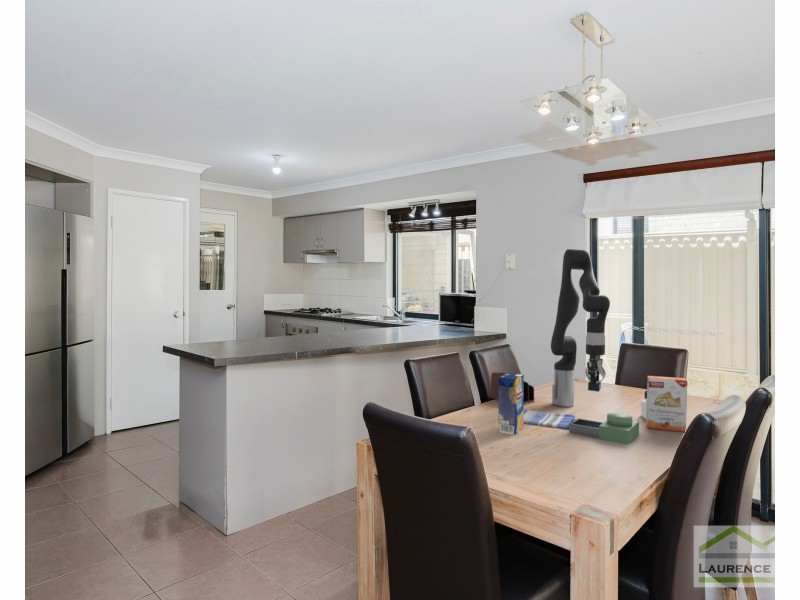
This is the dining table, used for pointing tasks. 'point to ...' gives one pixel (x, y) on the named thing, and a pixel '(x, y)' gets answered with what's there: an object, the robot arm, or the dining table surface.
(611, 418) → the green block with dome
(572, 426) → the frame
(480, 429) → the dining table surface
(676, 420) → the cracker box
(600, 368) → the watch
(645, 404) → the medicine bottle
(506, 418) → the beverage box
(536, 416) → the dish towel
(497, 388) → the letter holder
